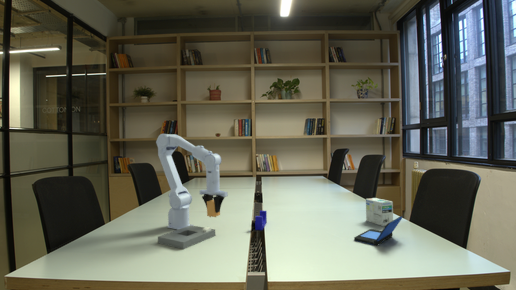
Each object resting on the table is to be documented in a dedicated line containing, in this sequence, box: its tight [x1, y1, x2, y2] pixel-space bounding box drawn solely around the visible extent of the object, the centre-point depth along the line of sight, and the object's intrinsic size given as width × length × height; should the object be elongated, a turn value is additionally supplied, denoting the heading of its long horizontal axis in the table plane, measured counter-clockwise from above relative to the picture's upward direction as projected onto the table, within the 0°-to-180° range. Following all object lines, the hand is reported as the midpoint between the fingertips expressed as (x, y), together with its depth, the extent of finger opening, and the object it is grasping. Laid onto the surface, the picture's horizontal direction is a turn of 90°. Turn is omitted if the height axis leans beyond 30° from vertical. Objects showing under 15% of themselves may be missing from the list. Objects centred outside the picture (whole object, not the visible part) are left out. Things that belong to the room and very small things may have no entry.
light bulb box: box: [365, 197, 394, 227], centre depth 137 cm, size 11×7×11 cm, turn 22°
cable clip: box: [254, 210, 268, 231], centre depth 135 cm, size 12×4×6 cm, turn 169°
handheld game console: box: [353, 215, 403, 247], centre depth 113 cm, size 16×13×9 cm
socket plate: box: [157, 224, 216, 250], centre depth 118 cm, size 14×18×4 cm
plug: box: [206, 199, 221, 218], centre depth 129 cm, size 4×4×7 cm
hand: (213, 211), depth 129 cm, fingers closed on plug, 4 cm apart
